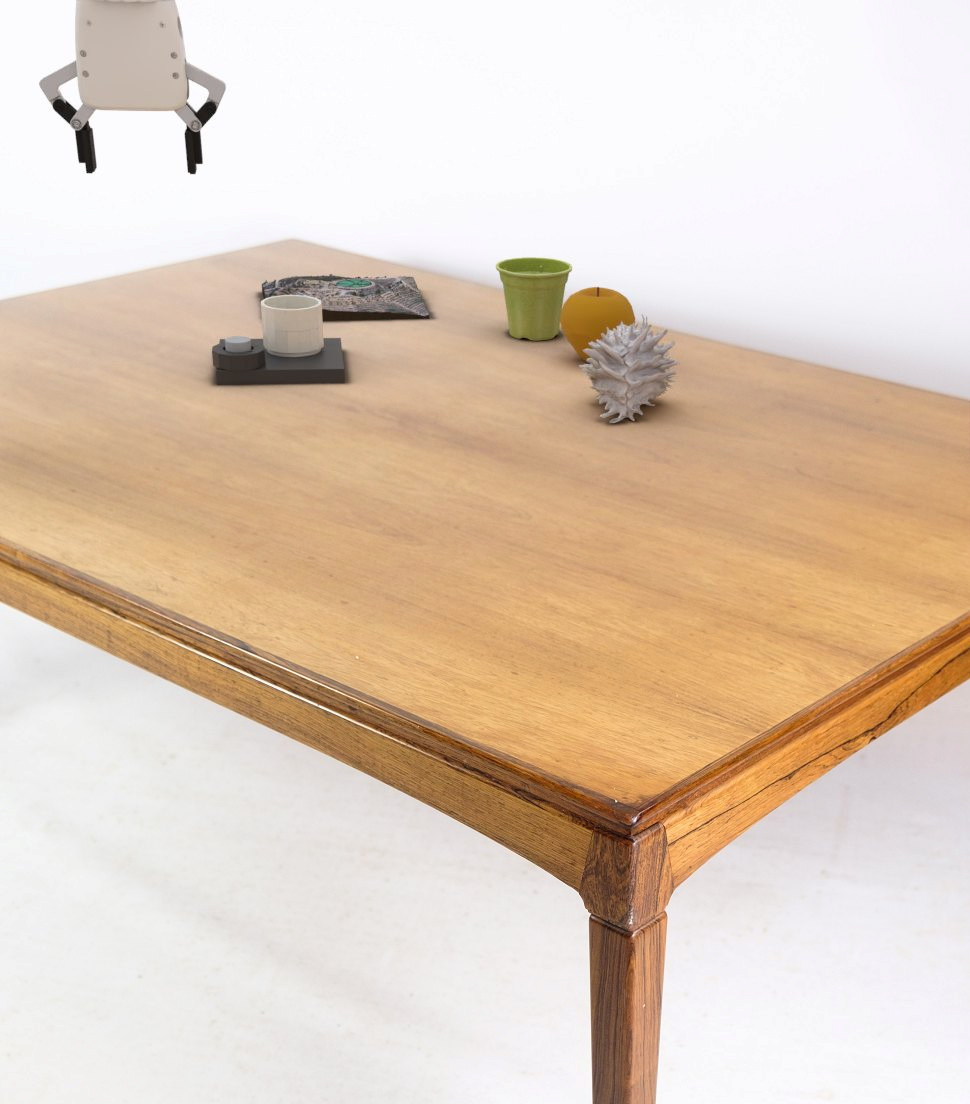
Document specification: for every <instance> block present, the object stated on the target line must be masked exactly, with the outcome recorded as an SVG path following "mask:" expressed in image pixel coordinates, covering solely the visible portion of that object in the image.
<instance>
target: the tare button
mask: <svg viewBox="0 0 970 1104" xmlns="http://www.w3.org/2000/svg"><path fill="white" fill-rule="evenodd" d="M224 339H225V348H226V351H227V352H246V351H251V339H252V338H250V337H249V336H243V335H235V336H227V337H226V338H224Z"/></svg>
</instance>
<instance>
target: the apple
mask: <svg viewBox="0 0 970 1104" xmlns="http://www.w3.org/2000/svg"><path fill="white" fill-rule="evenodd" d="M621 320H622V322H623V324H624V325H627V326H631V325H632V324H633V323H634V326H635V324H636V316H635V311H634V309H633V306H632V304H631V303H630V301H629V298H627V297H626V296H624V294H622V293H621V292H619V291H617V290H615V289H611V288H607V287H600V286H591V287H587V288H586V287H585V288H583V289H580V290H578V291H576V292H574V293H572V294H570V295H569V297H568V298H567V299H566V300H565V301H564V302H563V305H562V311H561V316H560V328H561V330H562V332H563V334H564V336H565V338H566V339H567V341H568V342H569V344H570V345H571V347H572V348H573V349H574V351H575V353H576V354H577V355H578V356H579V357H580V359H581V360H582V361H584V362H586V364H590V363H589V362H587V361H586V360H587V359H588V358H591V357H590V356H588V355H587V354H586V353H584V352H583V350H584V349H593V348H592V347H591V346H589V344H588V343H591V341H593V342H594V343H597V342H596V340H597V339H598V340H603V338H602V336H601V334H602V333H604V335H606V334H607V327H608V328H609V330H611V331H613V328H615V329H616V330H617V327H616V326H619V325H620V324H621Z"/></svg>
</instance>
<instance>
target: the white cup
mask: <svg viewBox="0 0 970 1104" xmlns="http://www.w3.org/2000/svg"><path fill="white" fill-rule="evenodd" d="M260 314H261V328H262V339H263V345H264V346H265V348H266V349H267V352H268V353H270V354H273V355H276V356H282V357H304V356H310V355H314V354H317V353H319V352H320V351H321V348H322V347H324V340H323V338H324V323H323V322H324V321H323V320H322V302H321V300H319V299H317V298H314V297H310V296H303V295H281V296H273V297H269V298H265V299H264V298H263V299H262V300H261V301H260Z"/></svg>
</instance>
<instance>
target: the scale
mask: <svg viewBox="0 0 970 1104" xmlns="http://www.w3.org/2000/svg"><path fill="white" fill-rule="evenodd" d="M225 339H226V338H219V342H218V343H217V344H215V345H213V346H212V348H211V356H212V358H211V359H212V366H213V367H215V375H216V376H215V377H216V385H217V386H237V385H238V386H243V385H244V386H245V385H247V386H248V385H252V386H253V385H306V384H307V385H308V384H309V385H311V384H312V385H313V384H317V385H318V384H319V385H320V384H345V383H346V378H345V377H346V376H345V364H344V356H343V345H342V338H341V337H323V340H324V347H322V348H321V351H320V352H319V353H317V354H314V355H310V356H304V357H282V356H276V355H273V354H270V353H268V352H267V349H266V348H265V346H264V345H263V338H250V339H251V351H246V352H227V351H226V348H225Z"/></svg>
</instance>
